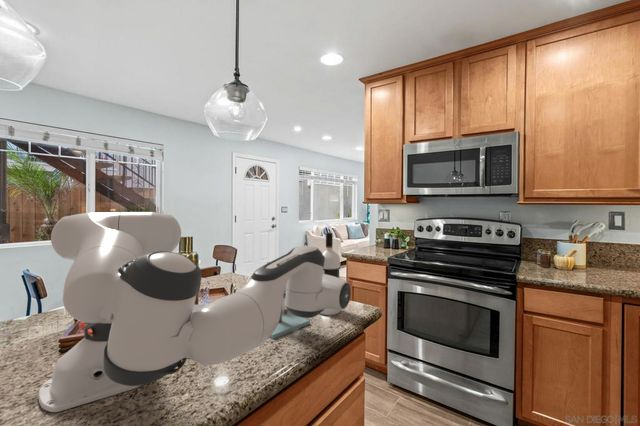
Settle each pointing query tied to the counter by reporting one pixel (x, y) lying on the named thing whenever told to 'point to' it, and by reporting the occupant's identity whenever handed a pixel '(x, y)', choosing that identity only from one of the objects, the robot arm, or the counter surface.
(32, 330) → the counter surface
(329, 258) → the vodka
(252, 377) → the counter surface
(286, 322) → the board
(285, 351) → the counter surface
